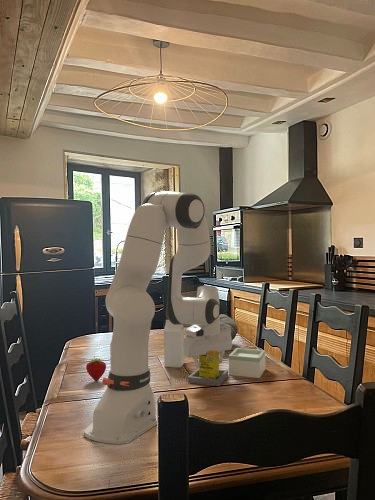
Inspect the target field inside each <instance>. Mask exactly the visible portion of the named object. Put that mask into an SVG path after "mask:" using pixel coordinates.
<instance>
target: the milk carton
mask: <svg viewBox="0 0 375 500" xmlns="http://www.w3.org/2000/svg"><path fill="white" fill-rule="evenodd" d="M184 339H185V326H184V324H179V325H174V324H172V323H171V322H170V321H169V320H168V319H165V325H164V328H163V348H164V349H163V350H164V351H163V353H164V354H163V355H164V356H163V357H164V358H163V359H164V362H163V363H164V364H163V365H164V367H165V368H182V367H183V365H184V364H185V359H186V358H185V354H184Z"/></svg>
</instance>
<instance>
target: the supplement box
mask: <svg viewBox="0 0 375 500" xmlns="http://www.w3.org/2000/svg"><path fill="white" fill-rule="evenodd" d="M198 361H199V362H201V367H199V375H198V377H201V378H210V379H218V378H219V377H220V376H219V370H220V363H219V352H217V350H216V351H210V352H207V353H206V355H201V356H199V359H198Z"/></svg>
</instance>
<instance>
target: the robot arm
mask: <svg viewBox="0 0 375 500" xmlns="http://www.w3.org/2000/svg"><path fill="white" fill-rule="evenodd" d="M168 227H169V228H175V229H176V239H177V250H176V253H175V254H174V255H172V257H171V259H170V262H169V269H168V283H167V301H166V308H165V317H166V319H167V320H169V321H170V322H171V323H172V324H174V325H179V324H183V325H190V324H193V325H192V326H191V327H189V326H188V327H189V328H188V327H187V328H186V329H185V328H184V335H186V336H184V356H186V357H188V358H192V359H193V361H194V363H195V367H196V369H198V368H199V367H201V362H199V356H201V355H206V353H207V352H210V351H216V350H217V352H219V364H222V363H223V358H224V356H225V351H231V350H232V348H233V341H232V338H231V329H230V327H228V326H221V327H220V318H219V315H221V314H220V312H221V311H220V310H221V306H220V304H221V303H220V296H219V295H220V294H219V289H218V288H217V286H212V285H201V286H197V291H196V297H191V296H190V297H189V296H183V295H182V293H181V292H182V280H183V279H182V278H183V274H184V273H185V272H187V271H191V270H193V269H196V268H198V267H199V266H201V265H203V264H204V263H205V262H206V261H207V260H208V259H209V257H210V255H211V247H212V246H211V236H210V229H209V224H208V221H207V217H206V215H205V205H204V202H203V200H202V198H201V197H200V196H199V195H197V194H194V193H192V192H182V191H181V192H179V191H173V190H171V191H170V190H168V191H154V192H151V193H149V194H147V196H146V197H144V199H143V201H142V204H141V205H139V206H138V207H136V209H135V212H134V214H133V215H132V217H131V220H130V224H129V225H128V228H127V232H126V236H125V240H124V243H123V246H122V247H123V248H122V252H121V256H120V260H119V263H118V265H117V268H116V270H115V273H114V275H113V277H112V281H111V284H110V286H109V288H108V291H107V293H106V296H105V307H106V310H107V312H108V313H109V315H110V316H111V317H113V328H112V329H113V330H112V334H111V342H110V344H109V351H110V353H109V354H110V370H109V372H108V377H103V378H102V380H101V384H102V385H103V386H107V387H106V388H105V391H104V392H103V394H102V396H101V397H100V400H99V401H98V402H97V405H96V406H95V408H94V409H93V417H92V422H90V424H89V425H87V427H86V428H85V429H84V431H83V436H84V437H85V438H87V439H89V440H91V441H94V442H95V441H96V442H99V443H105V444H113V445H114V444H115V445H117V444H118V445H119V444H120V445H122V444H129V443H130V442H132V441H133V440H135V439H136V438H138V437H140V436H141V435H142V434H145V432H147V431H148V430H151V428H153V427H155V426H157V425H158V424H157V416H158V415H157V410H156V409H157V408H156V399H155V392H154V391H153V389H152V386H151V385H150V383H151V370H150V368H149V340H150V335H151V334H150V333H151V327H152V322H153V321H152V320H153V318H154V317H155V312H156V305H155V302H154V300H153V298H152V296H151V295H150V294H149V293H148V292H147V288H148V287H149V284H150V282H151V280H152V278H153V275H154V274H155V273H156V272H157V268H158V264H159V260H160V256H161V252H162V248H163V244H164V239H165V233H166V229H167V228H168Z"/></svg>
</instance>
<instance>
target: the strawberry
mask: <svg viewBox="0 0 375 500" xmlns="http://www.w3.org/2000/svg"><path fill="white" fill-rule="evenodd" d="M95 357H96V355H94V357H93V359H90V361H89V362H88V363H87V364H86V366H85V367H86V372H87V374H88V375H89V376H90V377H91V379H93V381H95V382H98V381H99V380H100V378H102V377H103V376H104V374H105V372H106V370H107V364H106V362H104V360H101V358H95Z"/></svg>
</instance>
